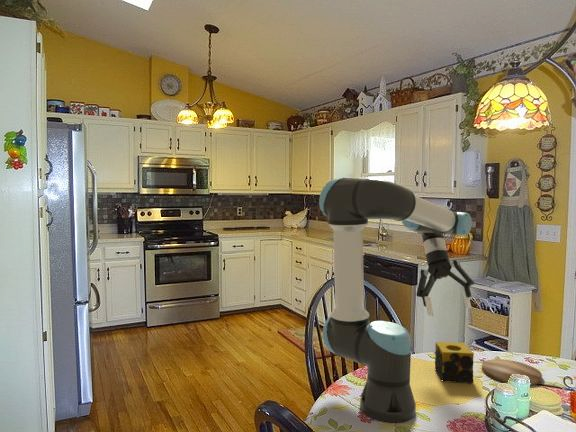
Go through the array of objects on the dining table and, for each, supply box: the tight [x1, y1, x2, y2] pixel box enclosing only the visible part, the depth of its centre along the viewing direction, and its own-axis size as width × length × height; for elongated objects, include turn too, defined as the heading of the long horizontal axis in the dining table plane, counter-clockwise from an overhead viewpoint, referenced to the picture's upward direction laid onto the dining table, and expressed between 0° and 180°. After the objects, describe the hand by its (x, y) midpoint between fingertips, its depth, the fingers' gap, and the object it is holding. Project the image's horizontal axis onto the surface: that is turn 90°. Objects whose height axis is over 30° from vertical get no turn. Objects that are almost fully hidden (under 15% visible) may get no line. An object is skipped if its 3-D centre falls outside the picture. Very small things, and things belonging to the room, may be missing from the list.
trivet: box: [481, 358, 543, 386], centre depth 145 cm, size 18×18×2 cm
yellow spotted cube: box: [434, 341, 475, 384], centre depth 142 cm, size 10×10×10 cm
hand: (449, 311), depth 145 cm, fingers open, 13 cm apart
